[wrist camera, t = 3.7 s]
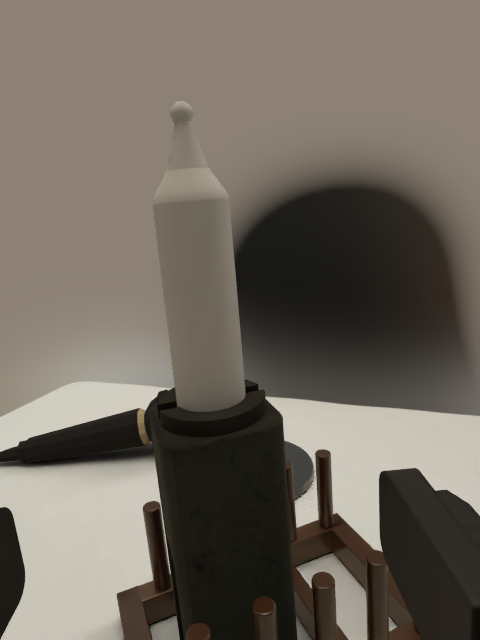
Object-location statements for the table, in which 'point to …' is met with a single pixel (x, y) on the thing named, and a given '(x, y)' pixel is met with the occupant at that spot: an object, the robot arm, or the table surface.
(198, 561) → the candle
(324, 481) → the drying rack
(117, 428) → the microphone
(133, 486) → the table surface
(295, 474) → the slate coaster
